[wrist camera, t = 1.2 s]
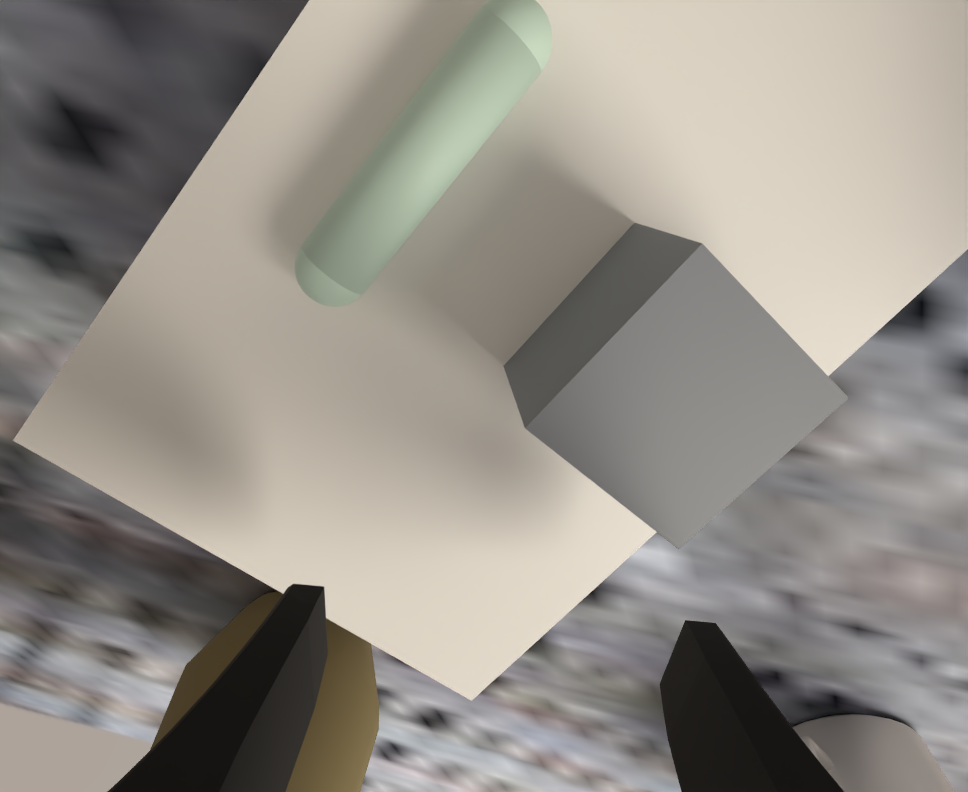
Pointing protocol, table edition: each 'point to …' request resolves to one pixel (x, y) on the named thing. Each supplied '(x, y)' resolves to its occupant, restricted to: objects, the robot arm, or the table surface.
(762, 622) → the table surface
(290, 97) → the level plate
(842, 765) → the mug
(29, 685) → the table surface
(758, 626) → the table surface
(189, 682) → the squeeze bottle
